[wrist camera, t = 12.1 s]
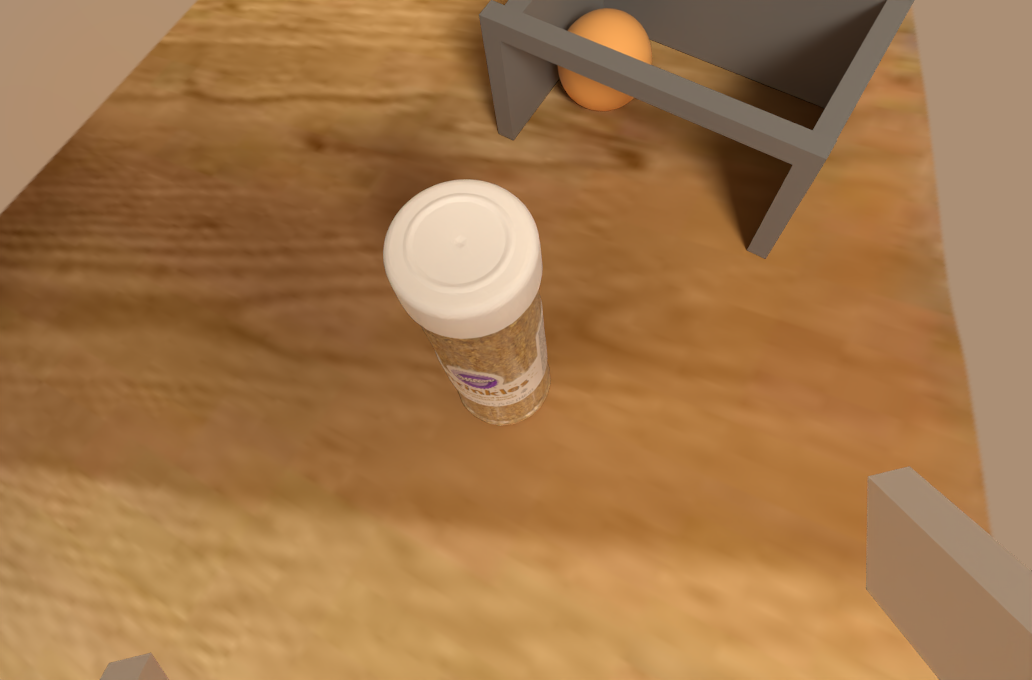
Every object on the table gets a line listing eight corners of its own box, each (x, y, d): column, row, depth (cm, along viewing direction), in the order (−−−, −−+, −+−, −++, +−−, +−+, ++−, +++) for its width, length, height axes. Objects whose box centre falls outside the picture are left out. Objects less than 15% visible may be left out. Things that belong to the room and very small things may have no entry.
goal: (498, 133, 35) (478, 15, 28) (596, 3, 38) (602, -136, 31) (765, 258, 31) (826, 159, 24) (852, 103, 34) (931, -30, 26)
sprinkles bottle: (459, 430, 29) (376, 321, 17) (457, 340, 31) (380, 179, 18) (556, 423, 29) (544, 308, 17) (549, 333, 31) (534, 165, 18)
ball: (548, 33, 35) (545, 120, 35) (574, -21, 30) (570, 79, 30) (632, 46, 36) (629, 129, 36) (669, -5, 31) (666, 92, 31)
